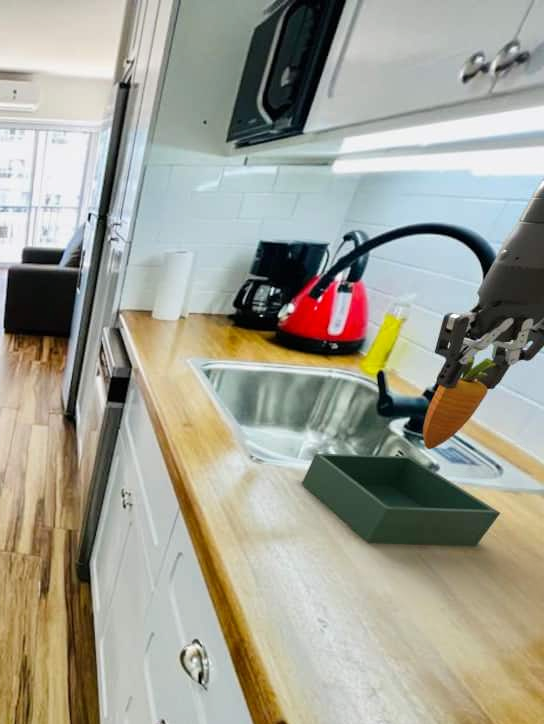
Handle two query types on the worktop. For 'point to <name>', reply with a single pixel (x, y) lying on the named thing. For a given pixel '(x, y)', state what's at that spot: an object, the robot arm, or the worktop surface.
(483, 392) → the carrot
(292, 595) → the worktop surface
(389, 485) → the dark green tray
